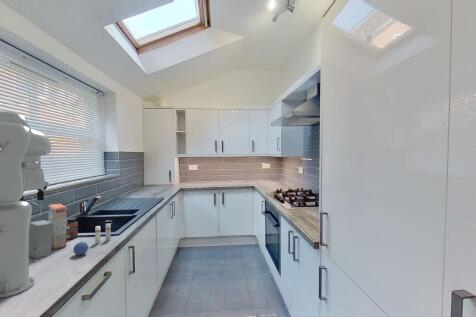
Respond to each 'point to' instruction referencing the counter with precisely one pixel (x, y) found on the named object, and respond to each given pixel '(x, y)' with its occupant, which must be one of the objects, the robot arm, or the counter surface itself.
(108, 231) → the grey pin
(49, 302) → the counter surface
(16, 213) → the robot arm
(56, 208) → the cracker box
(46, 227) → the skincare box
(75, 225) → the supplement bottle
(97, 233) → the cream pin
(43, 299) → the counter surface
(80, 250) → the ball
